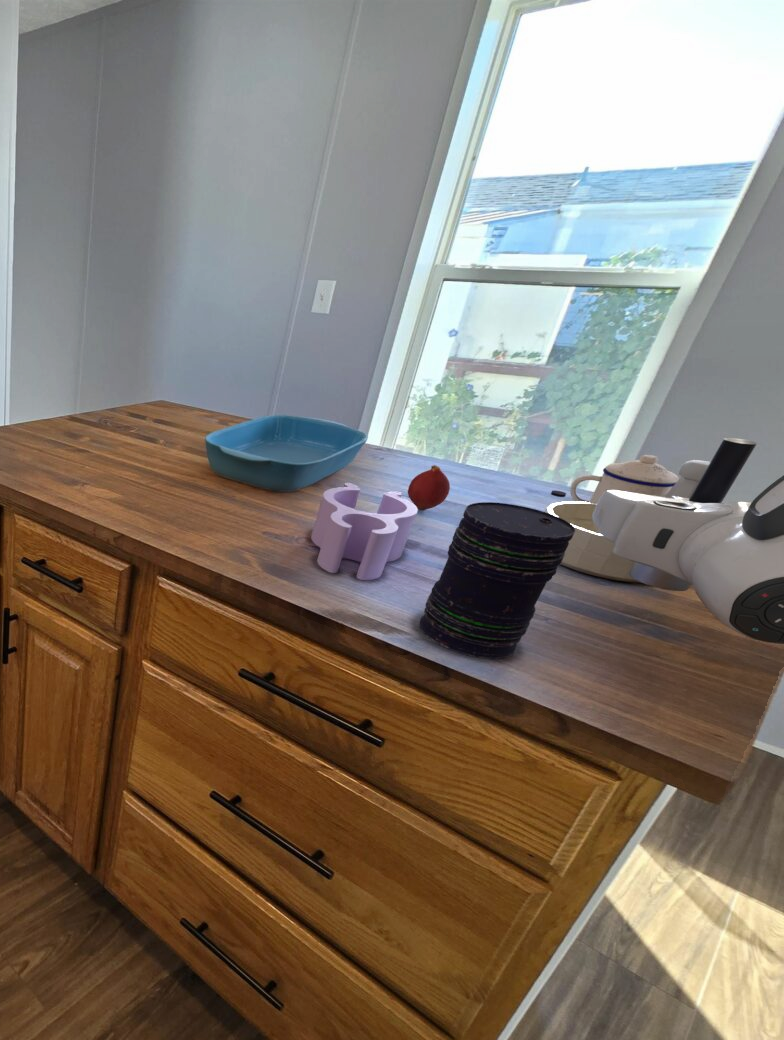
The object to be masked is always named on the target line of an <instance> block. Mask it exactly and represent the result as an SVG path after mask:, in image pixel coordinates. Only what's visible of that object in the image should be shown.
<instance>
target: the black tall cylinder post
mask: <svg viewBox="0 0 784 1040" xmlns="http://www.w3.org/2000/svg"><path fill="white" fill-rule="evenodd" d="M757 444H758V443H757V442H755V441H752V440H749V439H743V438H737V437H724V438H723V440H722V441H721V443H720V445H719V447H718V448H717V450H716V452H715V454H714V455H713V457H712V459H711V460H710V461H709V462H710V464H709V466H708V467H707V469H706V471H705V473H704V474H703V476H702V478H701V480H700V481H699V483H698V485H697V487H696V488H695V490H694V492H693V494H692V495H691V497H690V499H689V500H691V501H692V502H698V503H723V501H724V500H725V498H726V496H727V494H728V492H729V491H730V489H731V488H732V486H733V485H734V483H735V481H736V479H737V478H738V476H739V475H740V473H741V471H742V469H743V468H744V466H745V464H746V463H747V461H748V459H749V457H750V456H751V454H752V453H753V451H754V450H755V448H756V446H757ZM629 574H630V576H631V577H632V578H634V579H635V580H637V581H639V582H638V583H640V584H644V585H647V586H650V587H653V588H657V589H661V590H664V591H665V590H666V591H672V592H673V591H674V592H685V591H687V590H689V589H691V587H692V586H693V585H692V584H690V583H689V581H685V580H682V579H680V578H678V577H676V576H673V575H671V574H669V573H667V572H665V571H662V570H660V569H657V568H653V567H650V566H647V565H644V564H641V563H637V562H635V563H634V565H633V567H632V569H631V570H630V572H629Z"/></svg>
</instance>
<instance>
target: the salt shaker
mask: <svg viewBox="0 0 784 1040" xmlns="http://www.w3.org/2000/svg"><path fill="white" fill-rule="evenodd" d="M710 462H711V461H708V460H707V461H706V460H699V459H693V460H692V459H691V460H687V461H685V462H683V463H682V465H681V466H680V468H679V470H678V476H680V478H679V480H678V481H677V483H676V484H675V485H674V486H673V487H672V488H671V490H670V491H669V492H668V493H667V494H666V495H665V498H671V497H672V496H676V497H683V498H689V499H690V497H691V495H692V494H693V492H694V490H695V488H696V487H697V485H698V483H699V481H700V480H701V478H702V476H703V474H704V473H705V471H706V469H707V467H708V466H709V464H710Z"/></svg>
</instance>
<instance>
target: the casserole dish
mask: <svg viewBox="0 0 784 1040" xmlns="http://www.w3.org/2000/svg"><path fill="white" fill-rule="evenodd" d="M368 438H369V435H368V434H367V433H366V432H364V431H362V430H359V429H357V428H353V427H351V426H348V425H346V424H343V423H340V422H336V421H333V420H328V419H323V418H316V417H308V416H298V415H289V414H288V415H287V414H270V415H264V416H259V417H256V418H252V419H249V420H247V421H243V422H239V423H237V424H233V425H230V426H227V427H224V428H220V429H218V430H215V431H212V432H210V433H208V434H206V435H205V436H204V443H205V450H206V457H207V461H208V464H209V468H210V469H211V470H212V471H213V472H214V473H215V474H216V475H217V476H219V477H220V478H221V477H222V478H225V479H229V480H230V481H234V482H237V483H240V484H245V485H248V486H251V487H254V488H257V489H261V490H264V491H268V492H276V493H290V492H295V491H297V490H300V489H305V488H307V487H308V486H311V485H312V484H315V483H317V482H319V481H321V480H323V479H326V478H327V477H329V476H331V475H333V474H336V473H337V472H339V471H341V470H342V469H345V468H346V467H347V466H348V465H350V464H351V463H352V462H353V461H354V459H355V458H356V457H357V455H358V454H359V453H360V451H361V449H362V448H363V446H364V445H365V443H366V442H367V441H368Z"/></svg>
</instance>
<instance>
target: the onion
mask: <svg viewBox="0 0 784 1040" xmlns="http://www.w3.org/2000/svg"><path fill="white" fill-rule="evenodd" d="M430 467H431V468H430V469H428V470H425V471H423V472H420V473H418V474H417V475H415V476H414V477H413V479H412V480H411V481H410V483H409V485H408V489H407V495H408V499H410V502H412V503H413V504H414V505H415V506H416V507H417V509H418V511H420V512H423V511H427V510H430V509H433V508H436V507H437V506H439V505H441V504H442V503H443V502H445V500H446V499H447V497H448V495H449V494H450V490H451V485H450V481H449V479H448V477H447V475H446V474H445V473H444V472H443V471H442V469H441V467H439V465H436V464H434V465H431V466H430Z"/></svg>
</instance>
